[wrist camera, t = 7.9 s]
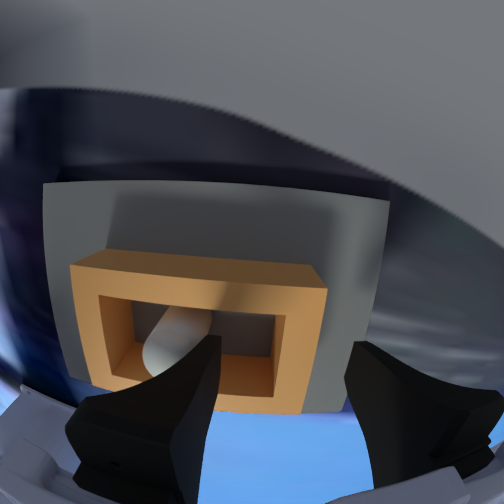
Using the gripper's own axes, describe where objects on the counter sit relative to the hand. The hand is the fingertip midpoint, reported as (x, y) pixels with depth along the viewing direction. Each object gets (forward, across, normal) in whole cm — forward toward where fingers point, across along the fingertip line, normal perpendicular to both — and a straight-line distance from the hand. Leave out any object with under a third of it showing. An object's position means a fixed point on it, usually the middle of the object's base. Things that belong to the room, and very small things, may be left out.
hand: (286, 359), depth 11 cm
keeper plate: (+4, +5, 0) cm, 7 cm away
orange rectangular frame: (+3, +4, 0) cm, 6 cm away
